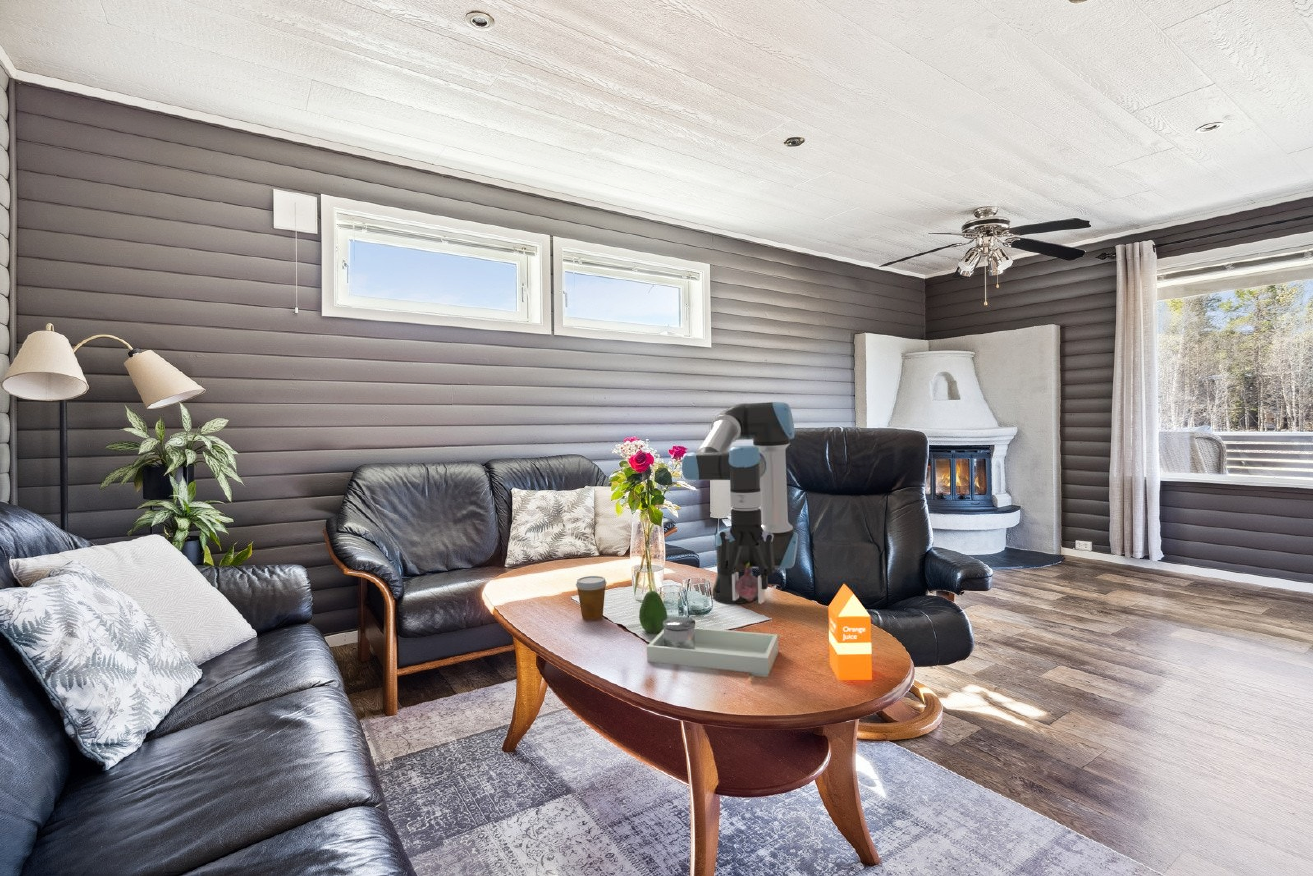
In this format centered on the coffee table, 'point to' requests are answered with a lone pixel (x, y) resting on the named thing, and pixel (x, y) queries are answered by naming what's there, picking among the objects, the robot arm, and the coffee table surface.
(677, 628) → the tin
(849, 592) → the orange juice
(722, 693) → the coffee table surface
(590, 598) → the disposable coffee cup
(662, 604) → the avocado
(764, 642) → the grey tray
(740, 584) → the vegetable
